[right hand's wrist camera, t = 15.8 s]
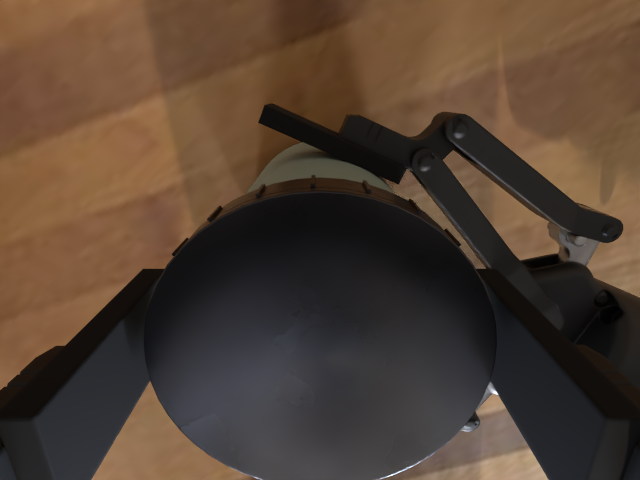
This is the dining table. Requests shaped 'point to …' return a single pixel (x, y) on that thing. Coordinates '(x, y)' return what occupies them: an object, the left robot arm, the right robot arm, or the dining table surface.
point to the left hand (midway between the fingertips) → (231, 206)
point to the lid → (320, 333)
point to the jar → (313, 168)
